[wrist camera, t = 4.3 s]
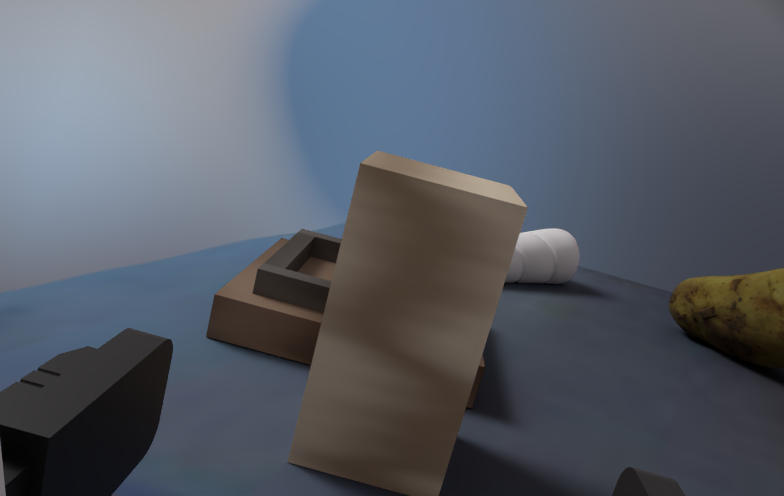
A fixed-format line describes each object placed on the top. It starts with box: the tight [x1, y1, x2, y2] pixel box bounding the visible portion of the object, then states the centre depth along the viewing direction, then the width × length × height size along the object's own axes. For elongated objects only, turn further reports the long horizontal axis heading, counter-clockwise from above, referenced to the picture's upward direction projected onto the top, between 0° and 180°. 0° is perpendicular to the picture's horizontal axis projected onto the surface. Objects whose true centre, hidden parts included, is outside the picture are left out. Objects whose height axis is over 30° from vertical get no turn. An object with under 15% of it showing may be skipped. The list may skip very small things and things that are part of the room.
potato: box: [669, 268, 784, 368], centre depth 46 cm, size 8×13×8 cm, turn 10°
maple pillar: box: [288, 151, 528, 496], centre depth 23 cm, size 5×5×10 cm
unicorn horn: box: [505, 229, 579, 284], centre depth 50 cm, size 5×24×5 cm, turn 125°
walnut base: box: [206, 229, 485, 409], centre depth 34 cm, size 12×12×3 cm
